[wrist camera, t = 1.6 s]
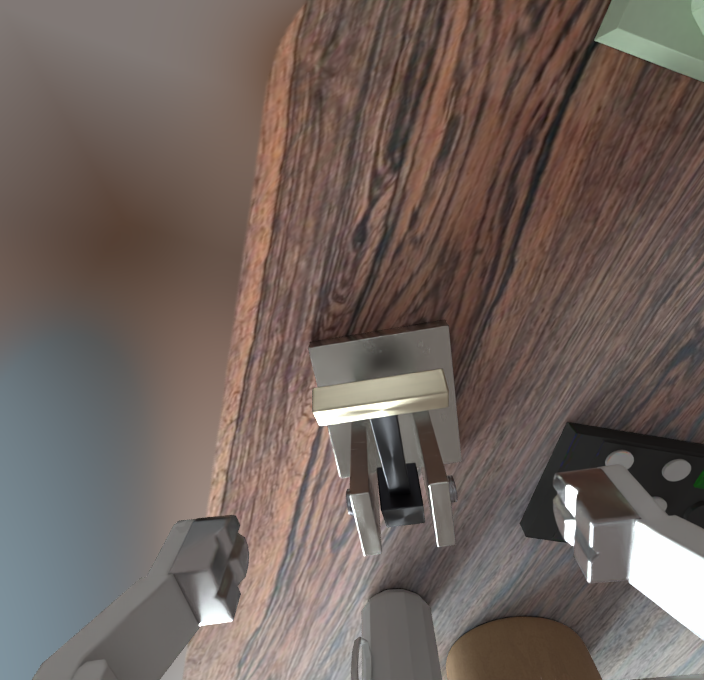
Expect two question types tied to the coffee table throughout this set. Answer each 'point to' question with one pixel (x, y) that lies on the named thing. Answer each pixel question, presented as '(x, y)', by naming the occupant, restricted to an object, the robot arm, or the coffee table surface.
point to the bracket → (416, 428)
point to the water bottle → (397, 639)
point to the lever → (387, 430)
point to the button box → (658, 32)
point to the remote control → (637, 457)
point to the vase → (520, 652)
